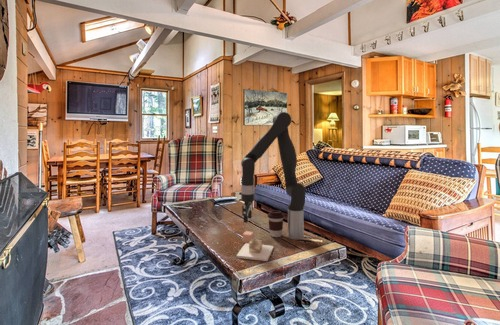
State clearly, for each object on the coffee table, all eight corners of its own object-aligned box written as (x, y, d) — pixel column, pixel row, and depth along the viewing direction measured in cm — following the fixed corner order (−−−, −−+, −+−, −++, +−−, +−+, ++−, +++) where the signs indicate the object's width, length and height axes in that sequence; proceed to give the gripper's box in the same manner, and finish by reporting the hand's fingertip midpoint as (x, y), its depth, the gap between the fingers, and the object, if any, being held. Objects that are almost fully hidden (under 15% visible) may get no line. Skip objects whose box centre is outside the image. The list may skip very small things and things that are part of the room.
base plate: (273, 248, 149) (273, 245, 149) (267, 261, 134) (267, 258, 134) (245, 245, 154) (245, 243, 153) (236, 257, 138) (236, 255, 138)
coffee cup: (275, 239, 161) (275, 214, 160) (264, 235, 169) (264, 211, 167) (287, 235, 167) (287, 211, 166) (275, 231, 175) (275, 208, 173)
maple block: (261, 248, 146) (261, 239, 145) (259, 253, 140) (259, 243, 140) (251, 247, 147) (251, 238, 146) (249, 252, 142) (249, 242, 141)
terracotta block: (253, 240, 161) (253, 231, 161) (251, 243, 156) (251, 235, 156) (245, 239, 162) (245, 231, 162) (243, 242, 158) (242, 234, 157)
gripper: (250, 195, 148) (250, 224, 150) (257, 190, 162) (257, 217, 164) (237, 194, 150) (237, 223, 152) (245, 189, 164) (245, 216, 166)
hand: (247, 220), depth 158 cm, fingers open, 8 cm apart
